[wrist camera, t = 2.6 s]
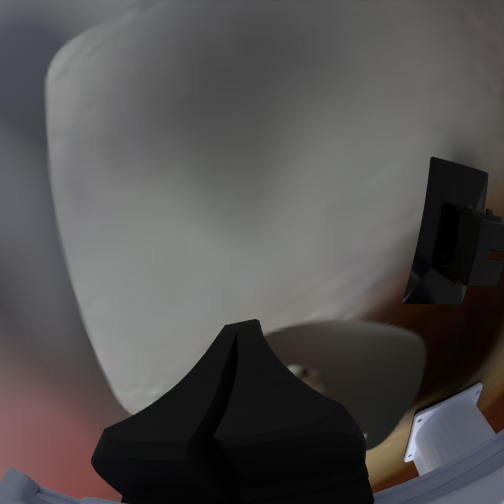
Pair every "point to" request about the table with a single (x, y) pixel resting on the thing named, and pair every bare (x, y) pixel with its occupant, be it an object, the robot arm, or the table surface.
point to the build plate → (454, 237)
